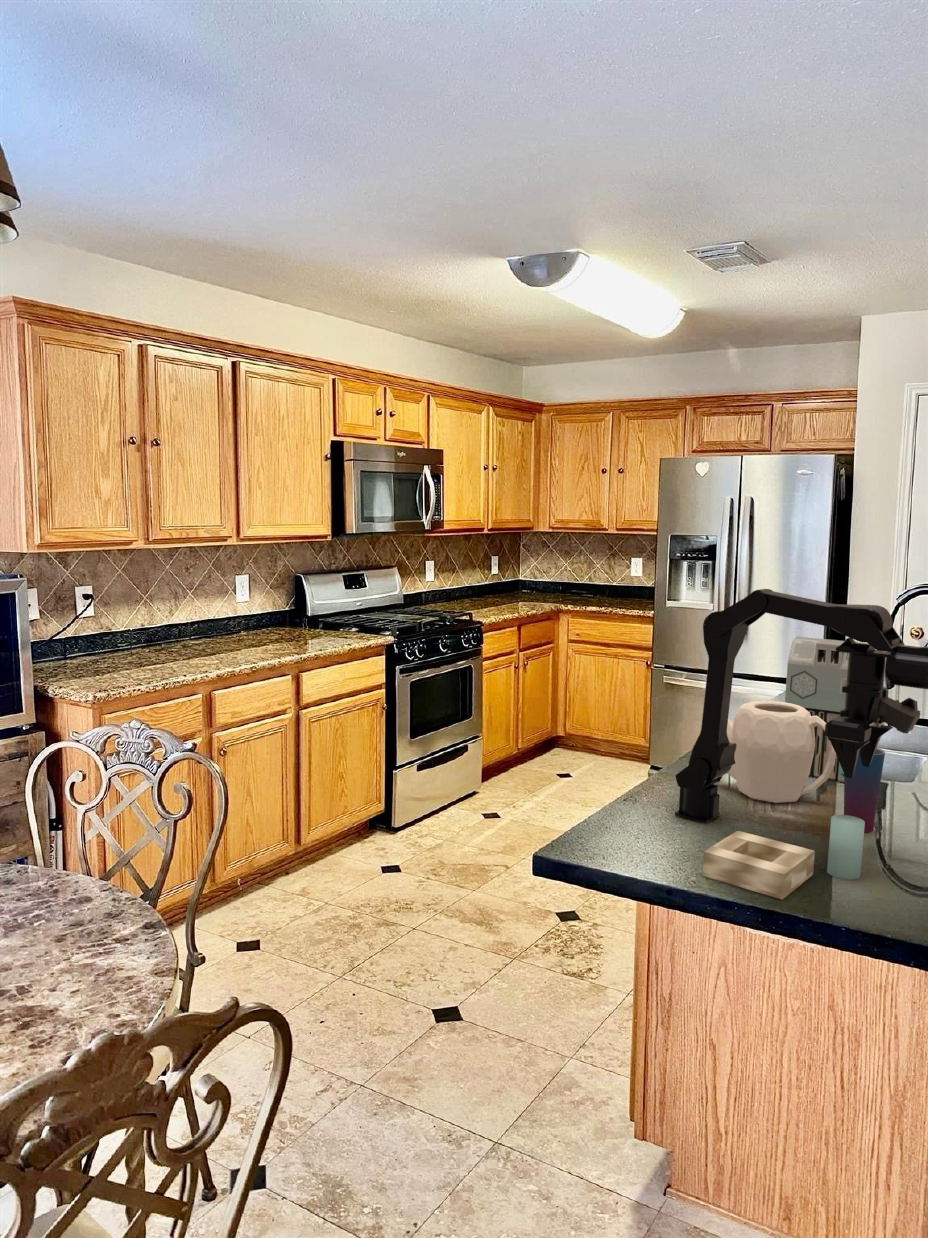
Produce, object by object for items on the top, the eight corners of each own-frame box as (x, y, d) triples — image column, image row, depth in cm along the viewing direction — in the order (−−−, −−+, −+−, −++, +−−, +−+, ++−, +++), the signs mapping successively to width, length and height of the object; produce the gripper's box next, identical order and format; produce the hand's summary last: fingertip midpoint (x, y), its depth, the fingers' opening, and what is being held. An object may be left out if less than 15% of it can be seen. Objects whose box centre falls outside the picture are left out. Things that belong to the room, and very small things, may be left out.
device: (779, 773, 204) (789, 640, 200) (786, 765, 210) (795, 636, 207) (859, 786, 196) (870, 648, 192) (863, 777, 202) (874, 643, 199)
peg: (822, 873, 148) (826, 820, 147) (832, 865, 152) (837, 812, 150) (854, 882, 145) (859, 827, 143) (864, 873, 148) (868, 820, 147)
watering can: (709, 774, 202) (715, 690, 199) (838, 796, 188) (845, 707, 186) (688, 792, 188) (693, 702, 186) (824, 818, 175) (832, 721, 172)
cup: (882, 836, 165) (889, 756, 164) (842, 832, 167) (849, 753, 165) (873, 823, 172) (880, 746, 170) (835, 820, 173) (841, 743, 172)
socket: (702, 875, 146) (703, 851, 145) (736, 853, 155) (737, 830, 155) (782, 899, 137) (784, 874, 137) (813, 874, 147) (814, 850, 147)
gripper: (901, 696, 140) (892, 795, 142) (932, 680, 154) (924, 770, 156) (827, 685, 147) (820, 780, 149) (863, 671, 161) (856, 757, 163)
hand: (857, 772), depth 154 cm, fingers open, 9 cm apart
